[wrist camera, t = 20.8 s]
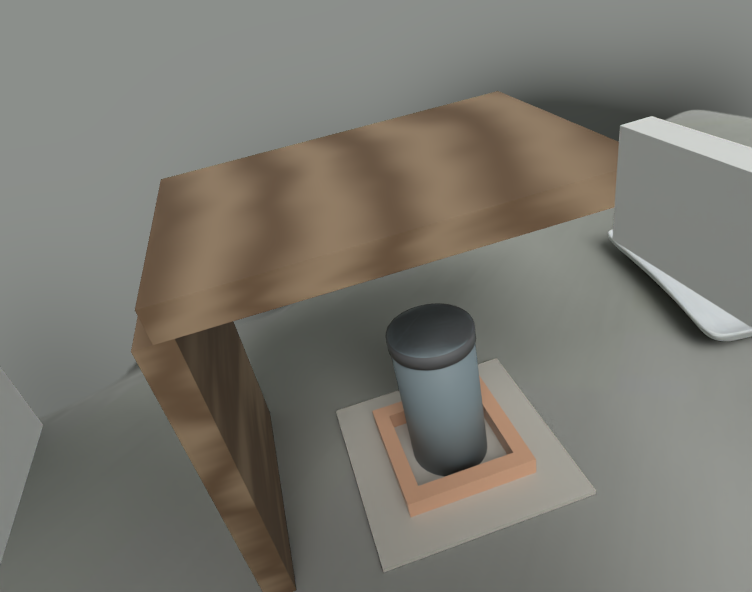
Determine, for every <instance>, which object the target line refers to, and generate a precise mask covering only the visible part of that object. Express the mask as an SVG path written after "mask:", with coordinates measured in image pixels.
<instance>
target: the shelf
mask: <svg viewBox="0 0 752 592" xmlns="http://www.w3.org/2000/svg"><path fill="white" fill-rule="evenodd" d="M618 149H619V142H618V141H615V140H613V139H610V138H608V137H606V136H603V135H601V134H598V133H596V132H593V131H591V130H589V129H587V128H584V127H582V126H579V125H577V124H575V123H572V122H570V121H568V120H565V119H563V118H560V117H558V116H556V115H553V114H551V113H549V112H546V111H544V110H542V109H539V108H537V107H534V106H532V105H530V104H527V103H525V102H522V101H520V100H518V99H515V98H513V97H511V96H508V95H506V94H503V93H501V92H499V91H497V92H493V93H489V94H485V95H481V96H478V97H474V98H470V99H466V100H462V101H458V102H455V103H451V104H447V105H443V106H439V107H435V108H432V109H428V110H424V111H420V112H416V113H413V114H409V115H405V116H401V117H397V118H393V119H390V120H386V121H382V122H379V123H374V124H371V125H367V126H363V127H359V128H355V129H351V130H348V131H344V132H340V133H336V134H332V135H329V136H325V137H321V138H317V139H313V140H309V141H306V142H302V143H298V144H294V145H290V146H287V147H283V148H279V149H275V150H271V151H268V152H264V153H260V154H256V155H252V156H248V157H245V158H241V159H237V160H233V161H229V162H226V163H222V164H218V165H214V166H210V167H206V168H202V169H199V170H195V171H191V172H187V173H183V174H180V175H176V176H172V177H168V178H164V179H161V182H160V187H159V193H158V197H157V202H156V207H155V212H154V217H153V222H152V228H151V232H150V237H149V242H148V247H147V252H146V257H145V262H144V267H143V272H142V277H141V282H140V287H139V293H138V297H137V302H136V307H135V311H136V313H137V315H138V318H137V323H136V328H135V334H134V339H133V344H132V349H131V353H132V354H133V356H134V358H135V360H136V362H137V364H138V365H139V367H140V369H141V371H142V373H143V375H144V376H145V378H146V380H147V382H148V384H149V385H150V387H151V389H152V391H153V393H154V395H155V396H156V398H157V400H158V402H159V404H160V406H161V407H162V409H163V411H164V413H165V415H166V416H167V418H168V420H169V422H170V424H171V426H172V427H173V429H174V431H175V433H176V435H177V437H178V438H179V440H180V442H181V444H182V446H183V447H184V449H185V451H186V453H187V455H188V457H189V458H190V460H191V462H192V464H193V466H194V467H195V469H196V471H197V473H198V475H199V477H200V478H201V480H202V482H203V484H204V486H205V488H206V489H207V491H208V493H209V495H210V497H211V498H212V500H213V502H214V504H215V506H216V508H217V509H218V511H219V513H220V515H221V517H222V519H223V520H224V522H225V524H226V526H227V528H228V529H229V531H230V533H231V535H232V537H233V539H234V540H235V542H236V544H237V546H238V548H239V550H240V551H241V553H242V555H243V557H244V559H245V560H246V562H247V564H248V566H249V568H250V570H251V571H252V573H253V575H254V577H255V579H256V581H257V582H258V584H259V586H260V588H261V590H262V591H263V592H293V591H296V585H295V578H294V572H293V565H292V558H291V552H290V545H289V538H288V531H287V525H286V518H285V511H284V505H283V498H282V491H281V484H280V478H279V471H278V464H277V458H276V451H275V444H274V438H273V431H272V424H271V417H270V412H269V409H268V407H267V404H266V402H265V399H264V397H263V394H262V392H261V389H260V387H259V384H258V382H257V379H256V377H255V374H254V372H253V369H252V367H251V364H250V362H249V359H248V357H247V354H246V352H245V349H244V347H243V344H242V342H241V339H240V337H239V334H238V332H237V329H236V327H235V324H234V322H233V321H235V320H239V319H242V318H246V317H249V316H252V315H256V314H259V313H262V312H266V311H269V310H272V309H276V308H279V307H283V306H286V305H289V304H293V303H296V302H299V301H303V300H306V299H309V298H313V297H316V296H319V295H323V294H326V293H329V292H333V291H336V290H339V289H343V288H346V287H349V286H353V285H356V284H359V283H363V282H366V281H369V280H373V279H376V278H379V277H383V276H386V275H389V274H393V273H396V272H400V271H403V270H406V269H410V268H413V267H416V266H420V265H423V264H426V263H430V262H433V261H436V260H440V259H443V258H446V257H450V256H453V255H456V254H460V253H463V252H466V251H470V250H473V249H476V248H480V247H483V246H486V245H490V244H493V243H496V242H500V241H503V240H506V239H510V238H513V237H517V236H520V235H523V234H527V233H530V232H533V231H537V230H540V229H543V228H547V227H550V226H553V225H557V224H560V223H563V222H567V221H570V220H573V219H577V218H580V217H583V216H587V215H590V214H593V213H597V212H600V211H603V210H607V209H610V208H613V207H615V192H616V178H617V163H618Z"/></svg>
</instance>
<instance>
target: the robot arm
mask: <svg viewBox="0 0 752 592" xmlns="http://www.w3.org/2000/svg"><path fill="white" fill-rule="evenodd" d="M612 240H613V241H615V242H616V243H618V244H620V245H621V246H623V247H624V248H626V249H628V250H629V251H631V252H632V253H634V254H635V255H637V256H639V257H640V258H642V259H643V260H645V261H647V262H648V263H650V264H651V265H653V266H655V267H656V268H658V269H659V270H661V271H662V272H664V273H666V274H667V275H669V276H670V277H672V278H674V279H675V280H677V281H678V282H680V283H681V284H683V285H685V286H686V287H688V288H689V289H691V290H693V291H694V292H696V293H697V294H699V295H700V296H702V297H704V298H705V299H707V300H708V301H710V302H712V303H713V304H715V305H716V306H718V307H719V308H721V309H723V310H724V311H726V312H727V313H729V314H731V315H732V316H734V317H735V318H737V319H739V320H740V321H742V322H743V323H745V324H746V325H748V326H750V327H751V328H752V148H751V147H748V146H745V145H741V144H738V143H735V142H732V141H729V140H726V139H722V138H719V137H716V136H713V135H710V134H706V133H703V132H700V131H697V130H694V129H691V128H687V127H684V126H681V125H678V124H675V123H671V122H668V121H665V120H662V119H658V118H655V117H652V116H651V117H647V118H644V119H641V120H637V121H634V122H630V123H627V124H623V125H620V134H619V149H618V163H617V178H616V192H615V207H614V221H613V236H612ZM42 428H43V424H42V423H41V421H40V420H39V419H38V417H37V416H36V414H35V413H34V412H33V410H32V409H31V408H30V407H29V405H28V404H27V402H26V401H25V399H24V398H23V397H22V395H21V394H20V393H19V391H18V390H17V389H16V387H15V386H14V384H13V383H12V382H11V381H10V379H9V378H8V376H7V375H6V373H5V372H4V371H3V369H2V368H1V367H0V564H1V561H2V558H3V554H4V551H5V548H6V545H7V541H8V538H9V535H10V532H11V528H12V525H13V522H14V519H15V515H16V512H17V509H18V506H19V502H20V499H21V496H22V493H23V489H24V486H25V483H26V480H27V476H28V473H29V470H30V467H31V463H32V460H33V457H34V454H35V450H36V447H37V444H38V441H39V437H40V434H41V431H42Z"/></svg>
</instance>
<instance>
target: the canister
mask: <svg viewBox="0 0 752 592" xmlns="http://www.w3.org/2000/svg"><path fill="white" fill-rule="evenodd" d="M386 342H387V346H388V350H389V353H390V355H391V357H392V361H393V366H394V370H395V374H396V379H397V383H398V387H399V392H400V396H401V400H402V405H403V409H404V413H405V418H406V422H407V426H408V431H409V435H410V439H411V444H412V448H413V452H414V456H415V459H416V461H417V462H418V464H419V465H420V466H421V467H422V468H424V469H425V470H426V471H428V472H430V473H432V474H435V475H439V476H448V475H451V474H454V473H457V472H460V471H462V470H465V469H468V468H471V467H474V466H477V465H479V464H480V463H481V462H482V461H483V459H484V457H485V455H486V452H487V437H486V429H485V421H484V412H483V404H482V396H481V387H480V379H479V371H478V362H477V354H476V346H475V342H476V334H475V325H474V321H473V319H472V317H471V316H470V314H469V313H467V312H466V311H465V310H463V309H461V308H459V307H457V306H453V305H449V304H439V303H436V304H425V305H421V306H417V307H414V308H411V309H409V310H406V311H405V312H403V313H401V314H400V315H398V316H397V317H396V318H394V319H393V321H392V322H391V323H390V324H389V326H388V328H387V331H386Z"/></svg>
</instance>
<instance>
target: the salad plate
mask: <svg viewBox="0 0 752 592" xmlns="http://www.w3.org/2000/svg"><path fill="white" fill-rule="evenodd" d="M612 236H613V229H612V230H610V231H608V237H609V239H610V240H611V241H612V243H613V244H614V245H615V246H616V247H617V248H618V249H619V250H620V251H622V252H623V253H624V254H625V255H626V256H628V257H629V258H630V259H631V260H632V261H633V262H635V263H636V264H637V265H638V266H639V267H640V268H641V269H643V270H644V271H645V272H646V273H647V274H648V275H649V276H650V277H651V278H652V279H653V280H654V281H655V282H656V283H657V284H658V285H659V286H660V287H661V288H662V289H663V290H664V291H665V292H666V293H667V294H668V295H669V296H670V297H671V298H672V299H673V300H674V301H675V302H676V303H677V304H678V305H679V306H680V307H681V308H682V309H683V310H684V311H685V313H686V314H687V315H688V316H689V317H690V318H691V319H692V321H693V322H694V323H695V324H696V325H697V326H698V327H699V329H700V330H701V331H702V332H703V333H704V334H705V335H707V336H708V337H710V338H712V339H715V340H718V341H733V340H739V339H743V338H748V337H752V328H751V327H750V326H748V325H746V324H745V323H743V322H742V321H740V320H739V319H737V318H735V317H734V316H732V315H731V314H729V313H727V312H726V311H724V310H723V309H721V308H719V307H718V306H716V305H715V304H713V303H712V302H710V301H708V300H707V299H705V298H704V297H702V296H700V295H699V294H697V293H696V292H694V291H693V290H691V289H689V288H688V287H686V286H685V285H683V284H681V283H680V282H678V281H677V280H675V279H674V278H672V277H670V276H669V275H667V274H666V273H664V272H662V271H661V270H659V269H658V268H656V267H655V266H653V265H651V264H650V263H648V262H647V261H645V260H643V259H642V258H640V257H639V256H637V255H635V254H634V253H632V252H631V251H629V250H628V249H626V248H624V247H623V246H621V245H620V244H618V243H616V242H615V241H613V240H612Z"/></svg>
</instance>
